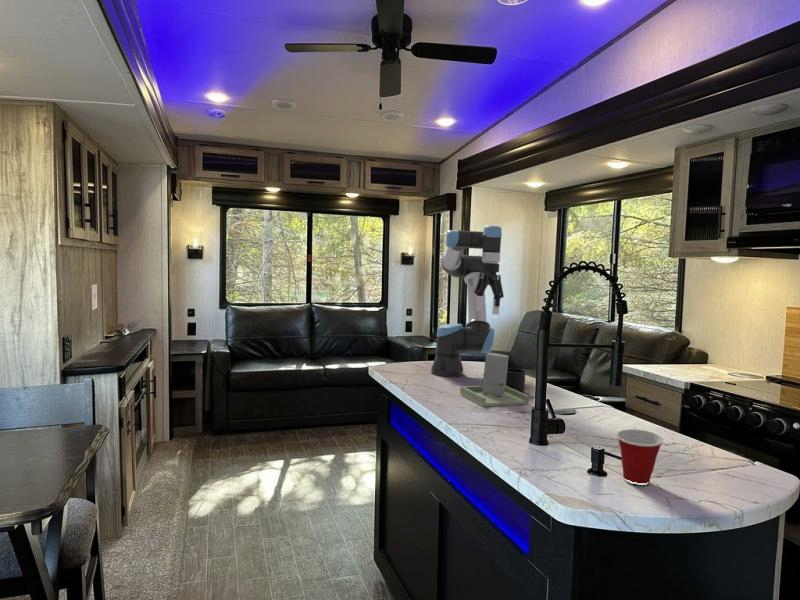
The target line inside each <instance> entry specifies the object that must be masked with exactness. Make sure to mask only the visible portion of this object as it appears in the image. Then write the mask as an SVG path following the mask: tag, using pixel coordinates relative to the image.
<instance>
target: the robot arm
mask: <svg viewBox="0 0 800 600" xmlns="http://www.w3.org/2000/svg"><path fill="white" fill-rule="evenodd" d="M502 229H503V228H502V227H501V226H498V225H485V226H484V227H483V231H478V230H477V231H475V230H474V231H473V230H472V231H471V230H460V229H459V230H457V229H449V230H447V231H446V234H445V235H446V237H445V245H446V247H447V248H446V252H445V253H444V254H443V255H442V257H441V261H440V262H441V263H440V264H441V268H442V269H443V271H444V272H445V273H446V274H448V275H449V276H452V277H454V278H461V279H463V281H464V283H465V284H466V286H467V288H466V289H467V312H468V317H467V318H468V322H467V323H466V324H465V326H464V327H463V324H462V323H447V324H442V325H439V326H438V327H437V331H436V345H435V348H436V349H435V357H434V360H433V362H432V364H431V368H430V369H431V370H430V372H431V374H433V375H436V376H441V377H451V378H453V377H461V376H463V375H464V366H463V363H462V362H463V361H462V358H461V353H473V354H475V353H476V354H487V353H491V351H492V349H493V345H494V340H495V330H494V328H491V324H490V323H489V322H488V321H487V309H486V308H487V307H486V290H487V287H488V286H490V289H491V292H492V293H493V299H492V310H491V311H492V315H497V316H498V315H500V305H501V304H500V303H501V299H502V298H503V299H504V296H505V295H504V290H503V285H502V280H501V279H502V277H501V275H500V274H497V273H499V272H500V261H501V247H502V245H501V244H502V236H503V233H502ZM465 249H478V250H482V251H481V255H469V254H468V255H466V254H463V253H464V251H465Z"/></svg>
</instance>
